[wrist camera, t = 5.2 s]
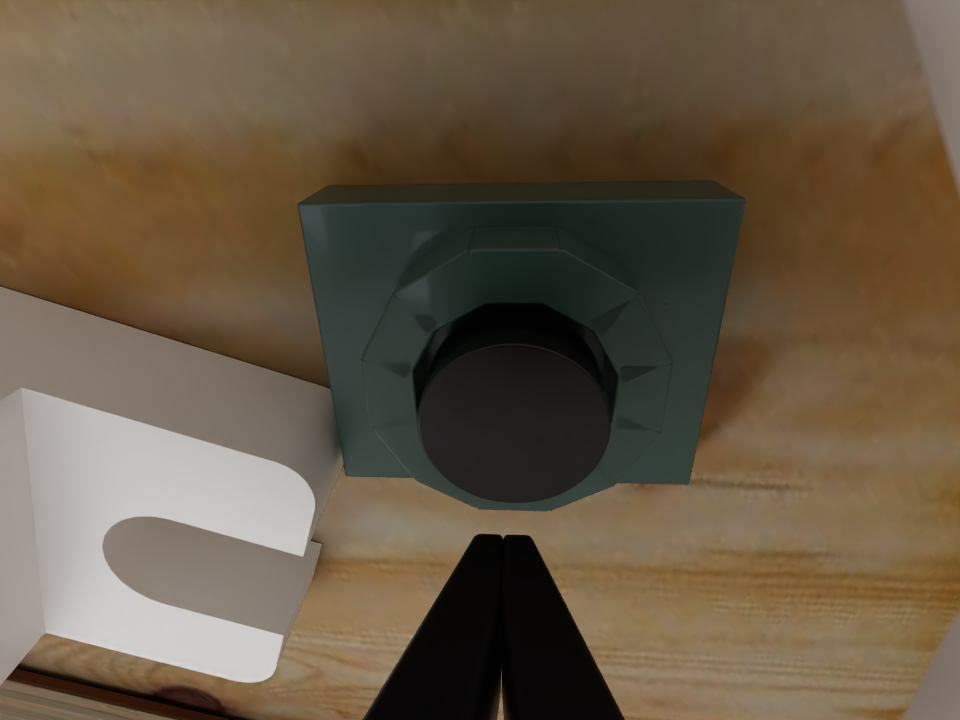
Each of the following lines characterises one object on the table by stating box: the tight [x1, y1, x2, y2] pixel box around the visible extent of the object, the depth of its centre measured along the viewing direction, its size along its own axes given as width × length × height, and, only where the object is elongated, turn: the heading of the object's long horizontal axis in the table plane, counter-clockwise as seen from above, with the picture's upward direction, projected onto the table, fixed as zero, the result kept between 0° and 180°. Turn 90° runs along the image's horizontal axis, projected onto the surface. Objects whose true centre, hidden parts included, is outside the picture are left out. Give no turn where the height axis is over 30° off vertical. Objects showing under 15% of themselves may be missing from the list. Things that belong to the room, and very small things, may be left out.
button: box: [417, 309, 611, 503], centre depth 12 cm, size 4×4×2 cm
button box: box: [298, 181, 746, 511], centre depth 14 cm, size 10×8×4 cm
